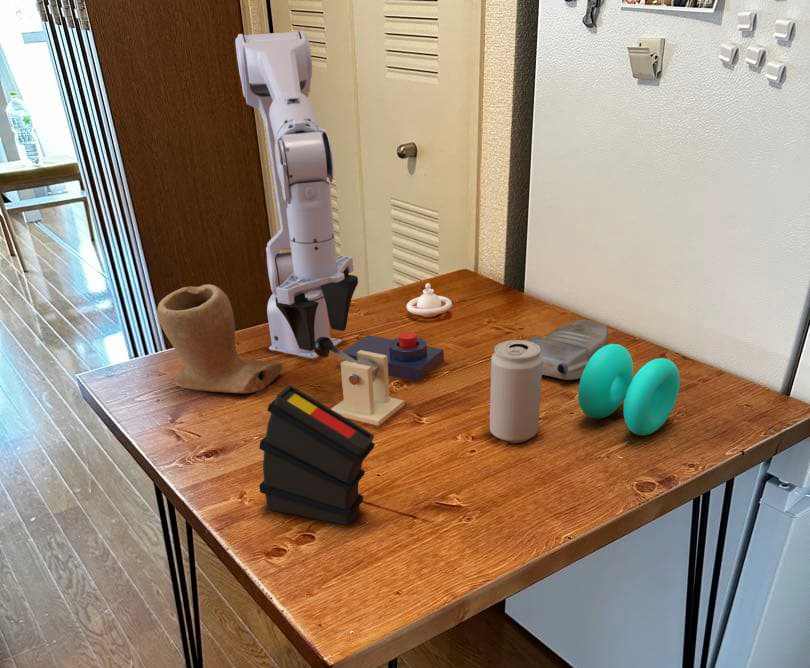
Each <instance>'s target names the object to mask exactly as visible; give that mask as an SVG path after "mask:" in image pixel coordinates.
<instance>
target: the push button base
mask: <svg viewBox="0 0 810 668" xmlns="http://www.w3.org/2000/svg"><path fill="white" fill-rule="evenodd" d="M360 350H363V351H368V352H373V353H377V354H382V355H387V360H388V376H391V377H396V378H400V379H406V380H409V381H414V382H420V381H421V380H422V379H424V378H425V377H426V376H427V375H429V374H430V373H431V372H433V371H434V370H435V369H437V367H438V366H440V365H442V363H444V362H445V357H444V356H445V355H444V353H445V352H444V349H443V348H438V347H433V346H429V345H428V342H427V340H425V339H424V338H422V337H418V336H417V347H413V348H400V347H399V338H398V337H397V338H395V339H391V338H387V337H381V336H375V335H371V334H366V335H365V336H364V337H361V338H360V339H359V340H357V341H356V342H354V343H353V344H351V345H350V346H348V347H346V348H345V349H343V350H341V352H343V353H345V354H346V355H348V356H350V357H351V358H353V359H355V360H356V361H357V352H358V351H360Z"/></svg>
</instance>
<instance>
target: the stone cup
mask: <svg viewBox="0 0 810 668" xmlns="http://www.w3.org/2000/svg"><path fill="white" fill-rule="evenodd" d="M156 313H157V314H156V315H157V319H158V322H159V325H160V327H161V329H162V331H163V333H164V334H165V336H166V338H167V339H168V341H169V343H170V344H171V346H172V347H173V348H174V350H175V351H176V352H177V354H178V355H179V357H180V359H181V360H182V362H183V364H184V367H183V368H181V370H180V371H178V373H176V375H175V378H174V384H175V385H176V386H178V387H179V388H183V389H185V390H186V389H187V390H193V391H203V392H211V393H213V392H214V393H228V394H230V393H231V394H250V393H256V392H259V391H261V390H264V389H265V388H266V387H268V386H269V385H270V384H271V383H272V382H274V380H275V379H277V378H278V377H279V375H280V373H281V372H282V371H283V368H284V365H283V364H282V362H280V361H267V360H260V359H251V358H242V357H240V356H239V355H238V352H237V345H236V324H235V317H234V312H233V308H232V305H231V302H230V299H229V296H228V295H227V294H226V293H225V291H223V290H222V289H221V288H220V287H219V286H217V285H214V284H212V283H210V284H208V283H206V284H202V285H200V286H191V285H189V286H183V287H181V288H179V289H177V290H175V291H172V292H170V293H169V294H167V295H166V296H165V297H163V298H162V299H161V300H160V301H159V303H158V305H157V308H156Z"/></svg>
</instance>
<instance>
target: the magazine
mask: <svg viewBox="0 0 810 668" xmlns="http://www.w3.org/2000/svg"><path fill="white" fill-rule="evenodd" d="M276 395H277V396H276V398H275V399H274V400H272V401H271V402H270V403H269V404H268V407H267V409H266V410H267V412H269V413H270V415H269V419H268V421H267V425H266V426H267V427H266V434H265V437H263V438H262V439H261V440H260V441H259V450H261V451H263V459H262V460H263V461H262V470H263V471H262V472H263V480H262V481H261V482H260V484H259V485H258V487H259V493H261V494H264V495H265V501H266V508H267V510H270V511H274V512H279V513H284V514H288V515H289V514H290V515H293V516H294V515H295V516H298V517H303V518H309V519H313V520H319V521H324V522H329V523H333V524H339V525H344V526H350V525H351V524H352V522H353V521H354V520H355V518H356V517H358V515H359V513H360V505H361V504H362V502H363V501H364V495H363V494H360V493H359V484H360V481H361V479H362V478H363V477H364V476H365V472H366V471H365V470H364V469H362V466H363V462H364V460H365V459H366V458H367V457H368V456H369V454H370V453H371V452H372V451H373V449H374V447H375V446H376V443H375V442H373V440H374V438H375V435H374V434H373V433H372V432H370V431H369V430H367V429H365V428H363V427H362V426H360V425H359V424H356V423H355V422H353V421H352V420H351V419H349V418H345V417H343V416H342V415H340V414H338V413H337V412H335V411H333V410H332V409H331V408H330V407H328V406H327V405H326V404H323V403H321V402H320V401H318V400H317V399H315V398H314V397H311V396H310V395H308V394H306V393H305V392H303V391H302V390H300V389H298V388H297V387H295V386H294V385H287V386H286V387H285V388H284V389H282V391H280V392H279V393H278V394H276Z"/></svg>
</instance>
